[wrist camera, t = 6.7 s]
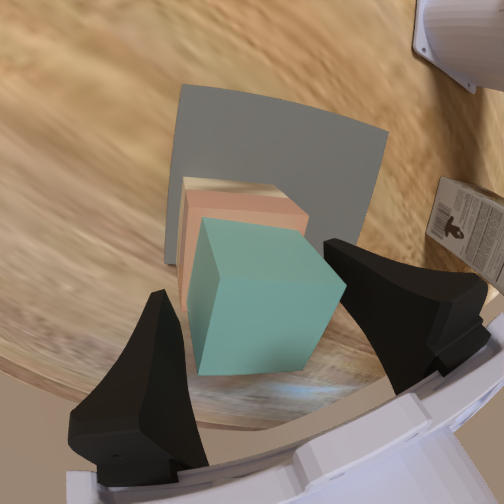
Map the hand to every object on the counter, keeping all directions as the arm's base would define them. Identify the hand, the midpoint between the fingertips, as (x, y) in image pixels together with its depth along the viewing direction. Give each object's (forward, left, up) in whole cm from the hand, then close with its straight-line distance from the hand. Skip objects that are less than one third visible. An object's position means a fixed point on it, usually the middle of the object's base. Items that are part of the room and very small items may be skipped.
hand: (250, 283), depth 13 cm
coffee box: (-24, -4, -8) cm, 25 cm away
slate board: (-4, -2, -7) cm, 9 cm away
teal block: (0, 0, -1) cm, 1 cm away
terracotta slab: (0, 0, -4) cm, 4 cm away
